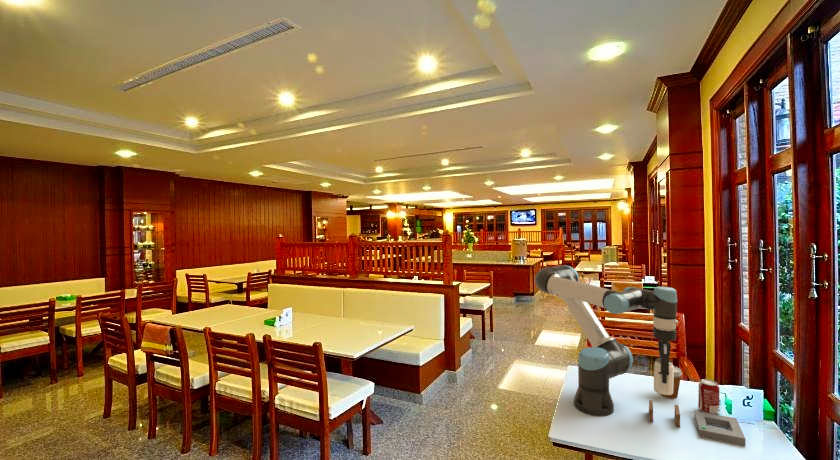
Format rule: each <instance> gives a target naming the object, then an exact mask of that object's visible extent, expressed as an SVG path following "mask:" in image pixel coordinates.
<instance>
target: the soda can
mask: <svg viewBox="0 0 840 460" xmlns="http://www.w3.org/2000/svg"><path fill="white" fill-rule="evenodd" d="M697 405H698V407H697V408H698V409H699V411H700V412H705V413H710V414H715V415H718V414H717V412H718V408H719V409H720V387H719V385H718V382H717V381H715V380H712V379H707V378H706V379H705V378H704V379H703V378H702V379H700V382H699V383H698V401H697Z"/></svg>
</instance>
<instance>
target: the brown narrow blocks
mask: <svg viewBox="0 0 840 460" xmlns="http://www.w3.org/2000/svg"><path fill="white" fill-rule="evenodd" d="M653 404H654V403H653V400H651V399H649V400H648V419H649V422H650V423H654V406H653ZM680 412H681V411H680V406H679V405H678V404H674V422H675V428H679V429H680V428H681V413H680Z"/></svg>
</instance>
